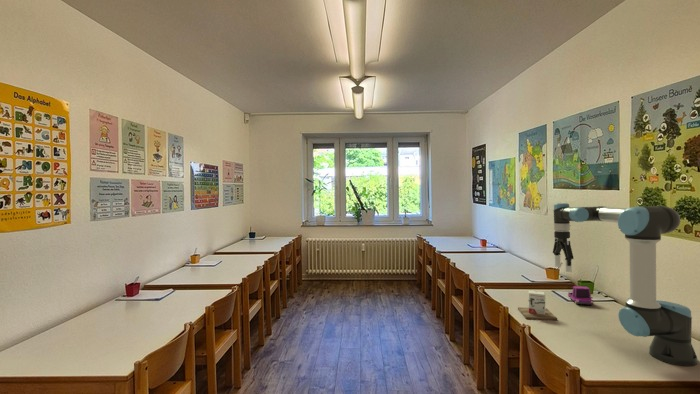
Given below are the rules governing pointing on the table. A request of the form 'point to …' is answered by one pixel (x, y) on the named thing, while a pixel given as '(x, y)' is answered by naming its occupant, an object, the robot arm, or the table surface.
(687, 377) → the table surface
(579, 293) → the toy truck
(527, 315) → the walnut board
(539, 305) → the ink box
